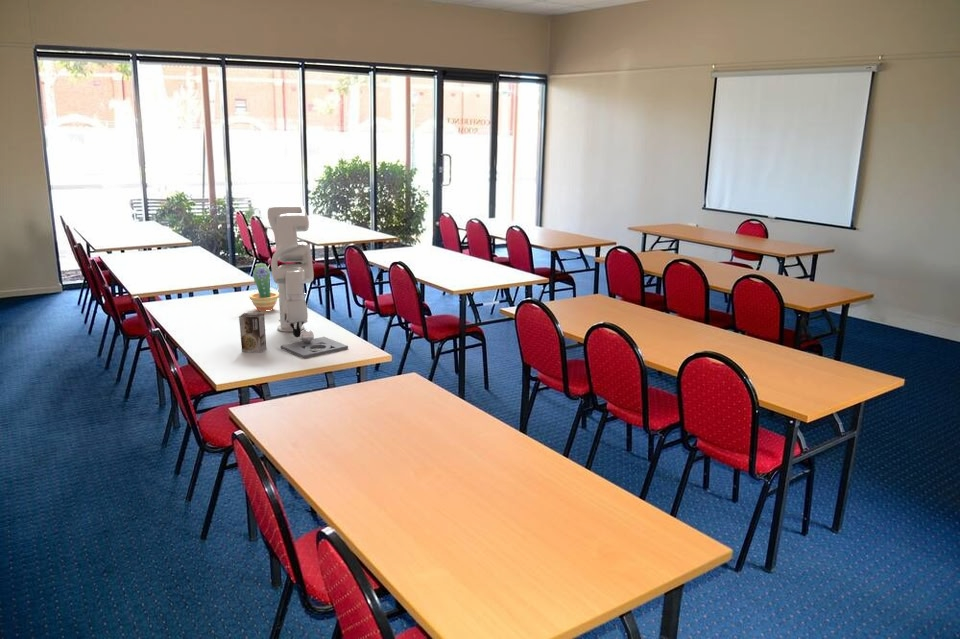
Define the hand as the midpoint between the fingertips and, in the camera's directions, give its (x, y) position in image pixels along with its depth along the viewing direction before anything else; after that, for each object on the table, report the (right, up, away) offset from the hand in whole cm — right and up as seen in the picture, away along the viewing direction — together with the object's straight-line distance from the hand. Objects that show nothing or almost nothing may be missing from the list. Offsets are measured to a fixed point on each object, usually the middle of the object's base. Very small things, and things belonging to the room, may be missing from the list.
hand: (297, 336), depth 334 cm
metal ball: (+6, 0, -7) cm, 9 cm away
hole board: (+10, -5, -10) cm, 15 cm away
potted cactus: (-32, +13, +59) cm, 69 cm away
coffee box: (-15, -6, -13) cm, 21 cm away
